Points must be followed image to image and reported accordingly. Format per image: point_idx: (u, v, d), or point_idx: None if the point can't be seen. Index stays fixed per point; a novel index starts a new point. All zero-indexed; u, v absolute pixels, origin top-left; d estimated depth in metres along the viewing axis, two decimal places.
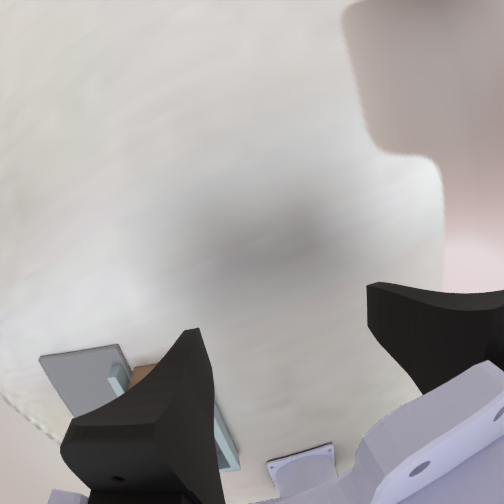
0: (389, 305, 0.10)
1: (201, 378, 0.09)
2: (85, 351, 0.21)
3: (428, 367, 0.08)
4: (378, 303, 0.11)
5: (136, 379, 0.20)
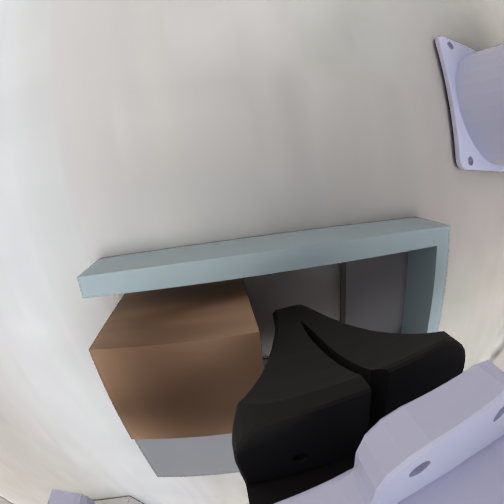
0: None
1: None
2: None
3: None
4: None
5: None
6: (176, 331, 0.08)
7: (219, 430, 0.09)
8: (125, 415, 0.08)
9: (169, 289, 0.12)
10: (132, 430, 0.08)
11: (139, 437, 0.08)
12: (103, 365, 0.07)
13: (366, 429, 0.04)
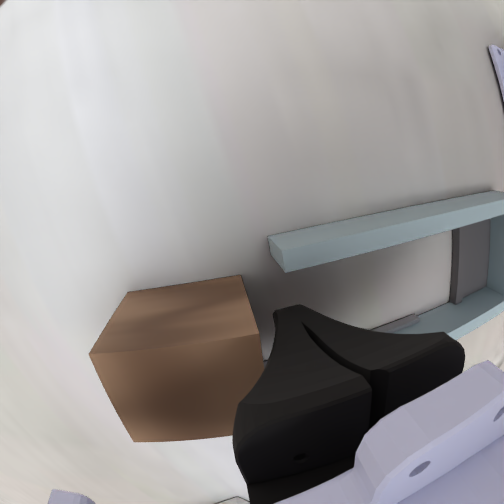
0: None
1: None
2: None
3: None
4: None
5: None
6: (175, 334, 0.08)
7: (221, 432, 0.09)
8: (127, 418, 0.08)
9: (169, 291, 0.12)
10: (134, 433, 0.08)
11: (141, 440, 0.08)
12: (104, 369, 0.07)
13: (366, 429, 0.04)
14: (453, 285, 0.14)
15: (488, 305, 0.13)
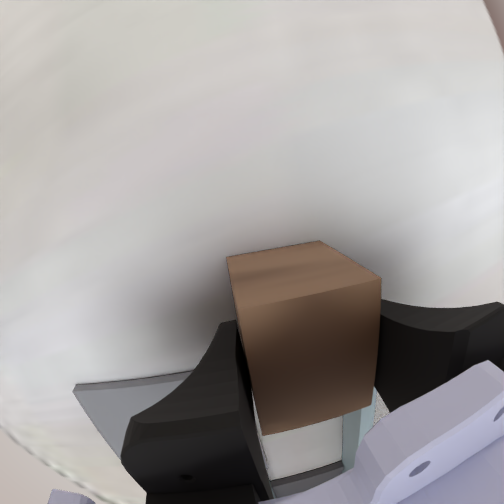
0: None
1: (243, 369, 0.09)
2: (170, 377, 0.13)
3: (393, 384, 0.08)
4: None
5: (246, 268, 0.10)
6: None
7: (262, 401, 0.08)
8: (288, 308, 0.07)
9: None
10: (258, 313, 0.07)
11: (243, 320, 0.07)
12: (363, 292, 0.08)
13: (253, 463, 0.04)
14: (286, 479, 0.16)
15: None
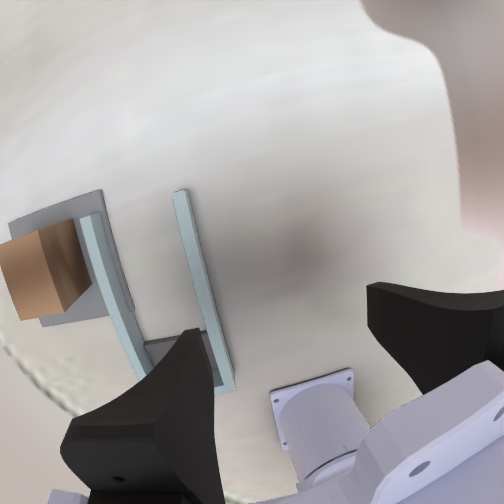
0: (389, 305, 0.10)
1: (201, 378, 0.09)
2: (62, 202, 0.18)
3: (428, 367, 0.08)
4: (378, 303, 0.11)
5: None
6: (55, 272, 0.14)
7: (13, 295, 0.14)
8: (8, 245, 0.13)
9: (76, 247, 0.18)
10: (0, 248, 0.13)
11: None
12: (32, 238, 0.13)
13: (175, 473, 0.04)
14: (158, 340, 0.21)
15: None
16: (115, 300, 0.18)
